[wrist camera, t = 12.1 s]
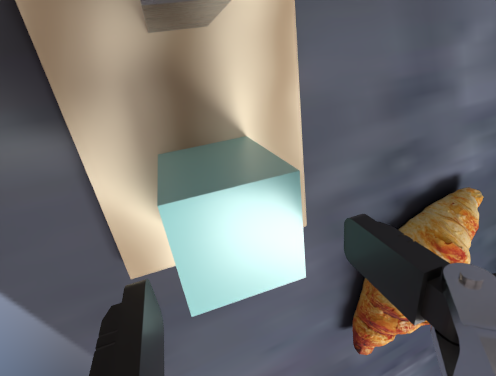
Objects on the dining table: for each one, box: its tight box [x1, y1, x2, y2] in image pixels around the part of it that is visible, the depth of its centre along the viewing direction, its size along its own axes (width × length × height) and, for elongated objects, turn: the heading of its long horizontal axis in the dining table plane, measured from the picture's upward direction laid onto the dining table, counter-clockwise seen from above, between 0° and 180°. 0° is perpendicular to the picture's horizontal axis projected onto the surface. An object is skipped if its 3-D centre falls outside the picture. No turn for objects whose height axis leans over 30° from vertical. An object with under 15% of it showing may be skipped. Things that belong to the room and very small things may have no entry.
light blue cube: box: [157, 136, 306, 317], centre depth 15 cm, size 6×6×8 cm
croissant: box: [353, 187, 483, 355], centre depth 28 cm, size 21×10×8 cm, turn 150°
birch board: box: [15, 0, 307, 279], centre depth 17 cm, size 14×22×2 cm, turn 8°
